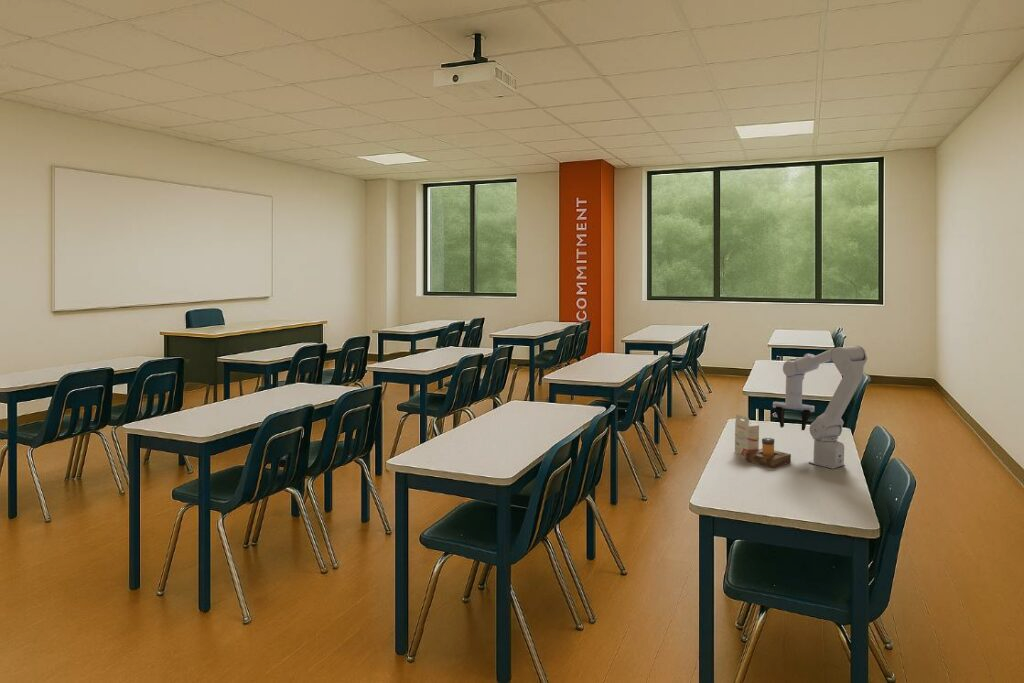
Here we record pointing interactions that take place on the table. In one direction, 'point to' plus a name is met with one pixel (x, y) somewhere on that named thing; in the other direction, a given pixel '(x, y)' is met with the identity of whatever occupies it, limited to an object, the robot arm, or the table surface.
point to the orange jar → (768, 447)
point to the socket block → (768, 458)
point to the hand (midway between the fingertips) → (792, 428)
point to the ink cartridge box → (746, 436)
